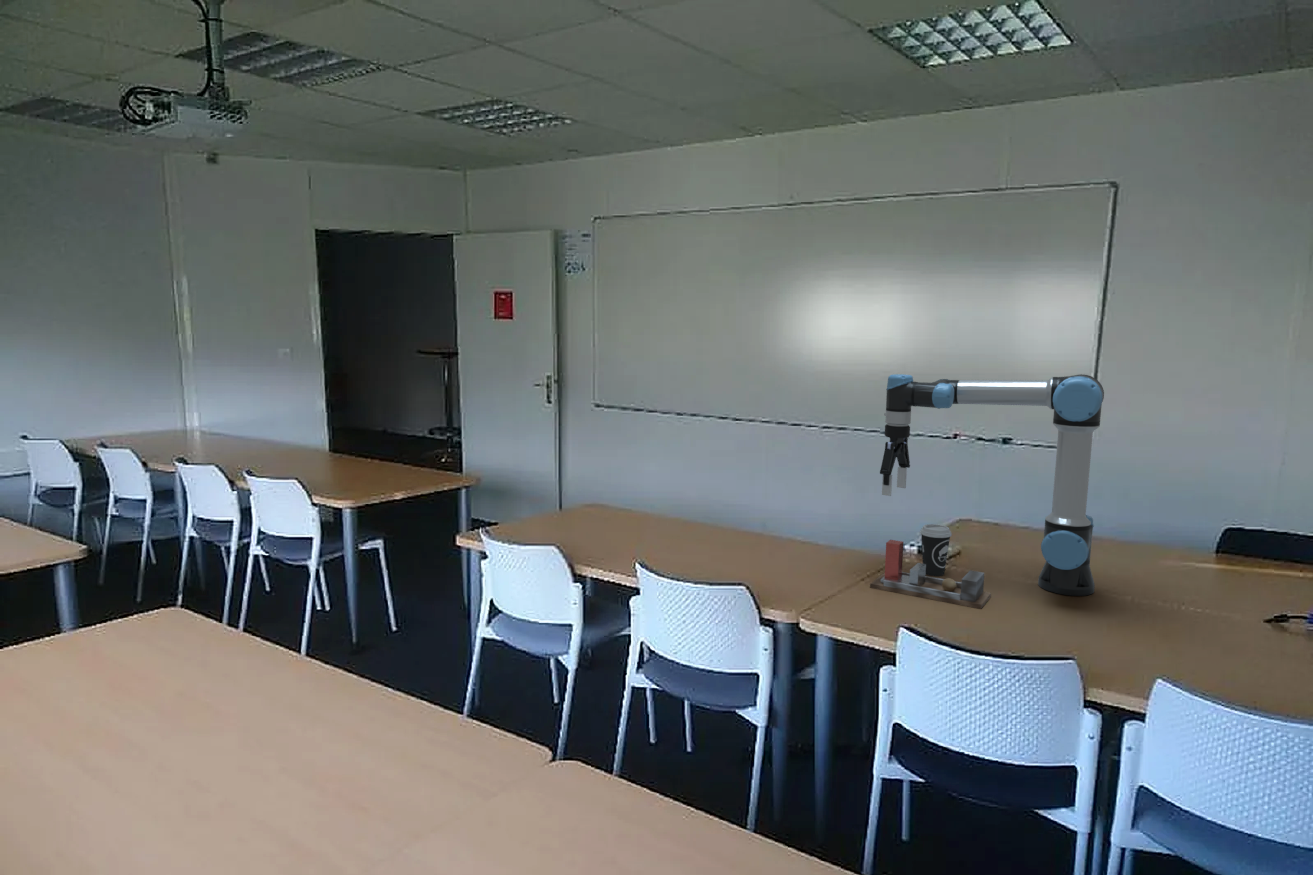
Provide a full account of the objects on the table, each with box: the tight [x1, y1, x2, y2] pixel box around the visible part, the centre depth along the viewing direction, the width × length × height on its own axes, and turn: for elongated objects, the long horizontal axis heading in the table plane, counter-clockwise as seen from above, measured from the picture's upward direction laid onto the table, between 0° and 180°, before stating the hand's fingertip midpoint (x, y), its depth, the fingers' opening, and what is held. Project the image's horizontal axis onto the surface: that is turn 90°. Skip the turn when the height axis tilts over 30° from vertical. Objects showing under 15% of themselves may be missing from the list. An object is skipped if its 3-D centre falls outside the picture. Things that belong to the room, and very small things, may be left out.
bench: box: [869, 570, 992, 610], centre depth 240 cm, size 32×12×7 cm, turn 56°
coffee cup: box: [919, 523, 953, 577], centre depth 258 cm, size 10×10×15 cm
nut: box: [942, 577, 957, 592], centre depth 237 cm, size 4×4×4 cm
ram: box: [881, 539, 927, 586], centre depth 244 cm, size 11×8×12 cm
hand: (894, 491), depth 255 cm, fingers open, 13 cm apart
